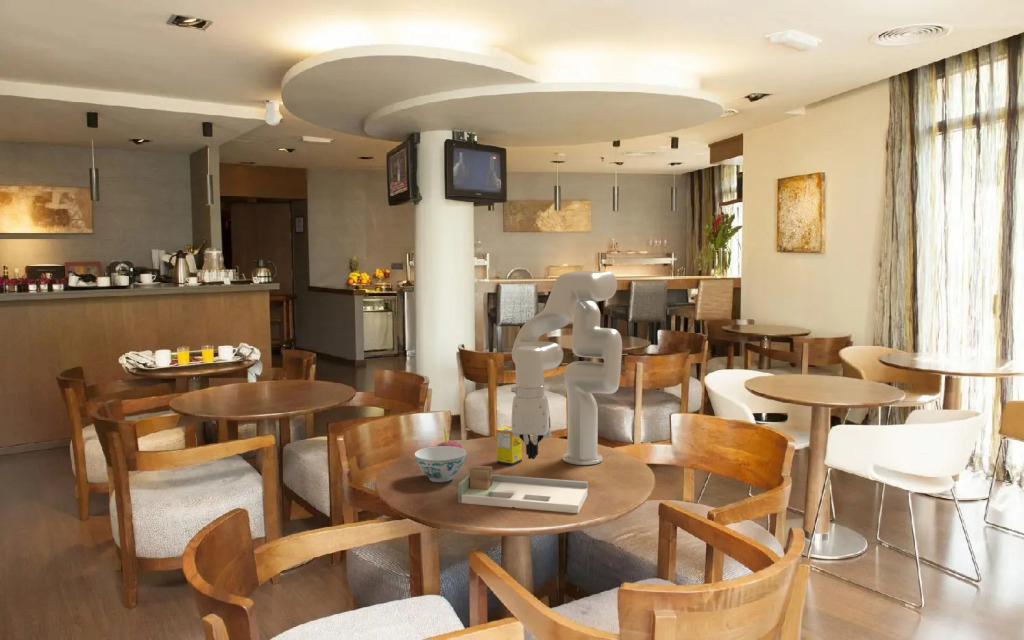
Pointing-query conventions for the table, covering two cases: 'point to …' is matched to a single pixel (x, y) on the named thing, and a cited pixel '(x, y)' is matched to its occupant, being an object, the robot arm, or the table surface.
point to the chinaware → (440, 462)
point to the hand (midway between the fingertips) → (532, 457)
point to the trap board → (527, 493)
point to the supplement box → (508, 446)
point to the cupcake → (449, 442)
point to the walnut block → (481, 477)
